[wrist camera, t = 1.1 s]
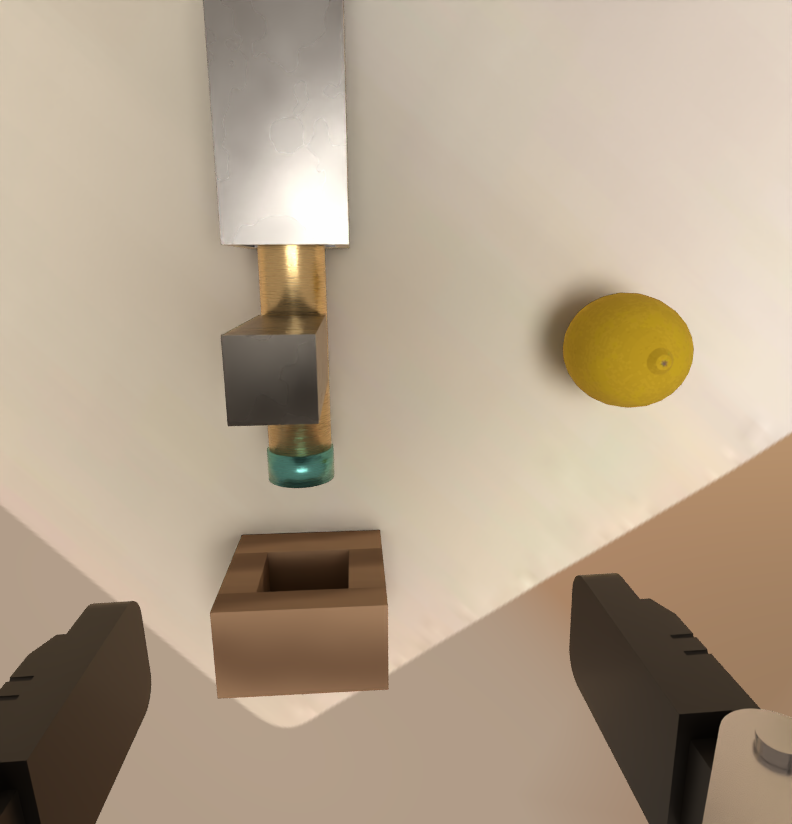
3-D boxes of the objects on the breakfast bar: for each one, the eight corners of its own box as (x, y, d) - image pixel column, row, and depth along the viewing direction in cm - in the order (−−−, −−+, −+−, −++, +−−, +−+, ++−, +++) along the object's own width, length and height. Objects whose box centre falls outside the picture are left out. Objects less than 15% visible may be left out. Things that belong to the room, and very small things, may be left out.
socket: (242, 535, 35) (209, 613, 27) (380, 530, 35) (387, 605, 27) (247, 604, 36) (217, 698, 28) (380, 598, 36) (388, 689, 29)
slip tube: (245, -18, 26) (176, -198, 16) (319, -16, 26) (299, -192, 16) (273, 466, 31) (235, 563, 21) (335, 464, 31) (326, 559, 21)
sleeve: (230, -42, 28) (193, -135, 21) (342, -39, 28) (339, -129, 22) (248, 248, 31) (221, 244, 24) (349, 248, 31) (348, 244, 25)
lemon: (524, 352, 33) (575, 379, 26) (586, 269, 32) (659, 270, 25) (598, 407, 34) (669, 448, 27) (660, 327, 33) (753, 346, 26)
